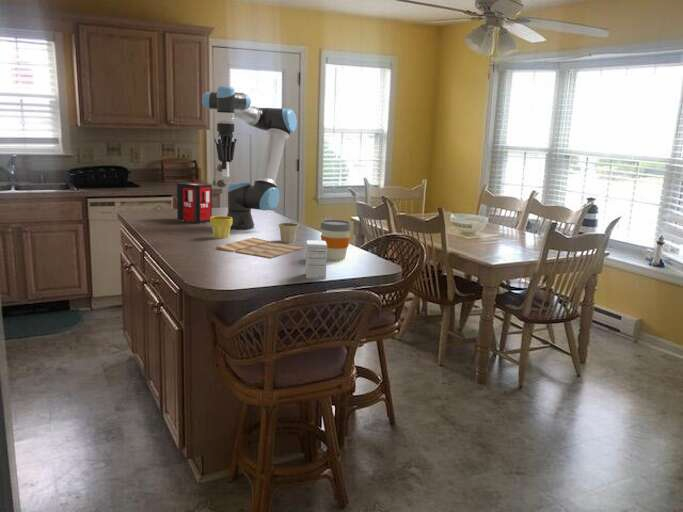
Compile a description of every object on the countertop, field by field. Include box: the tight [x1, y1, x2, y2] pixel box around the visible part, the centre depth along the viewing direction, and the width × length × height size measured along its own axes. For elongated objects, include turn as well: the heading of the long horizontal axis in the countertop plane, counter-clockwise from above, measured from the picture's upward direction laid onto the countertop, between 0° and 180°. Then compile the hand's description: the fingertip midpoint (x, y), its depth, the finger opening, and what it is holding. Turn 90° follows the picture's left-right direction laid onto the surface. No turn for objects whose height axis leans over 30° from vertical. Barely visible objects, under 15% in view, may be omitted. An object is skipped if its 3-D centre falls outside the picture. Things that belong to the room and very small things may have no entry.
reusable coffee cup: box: [320, 219, 352, 261], centre depth 244 cm, size 13×12×15 cm
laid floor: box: [234, 241, 306, 259], centre depth 252 cm, size 26×18×1 cm
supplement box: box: [305, 239, 328, 280], centre depth 214 cm, size 7×7×13 cm
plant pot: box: [209, 215, 233, 240], centre depth 275 cm, size 10×10×10 cm
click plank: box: [215, 237, 271, 253], centre depth 258 cm, size 26×9×1 cm, turn 152°
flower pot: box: [277, 222, 300, 244], centre depth 272 cm, size 9×9×9 cm
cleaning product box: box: [176, 181, 213, 225], centre depth 317 cm, size 16×9×20 cm, turn 58°
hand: (225, 176), depth 267 cm, fingers closed
